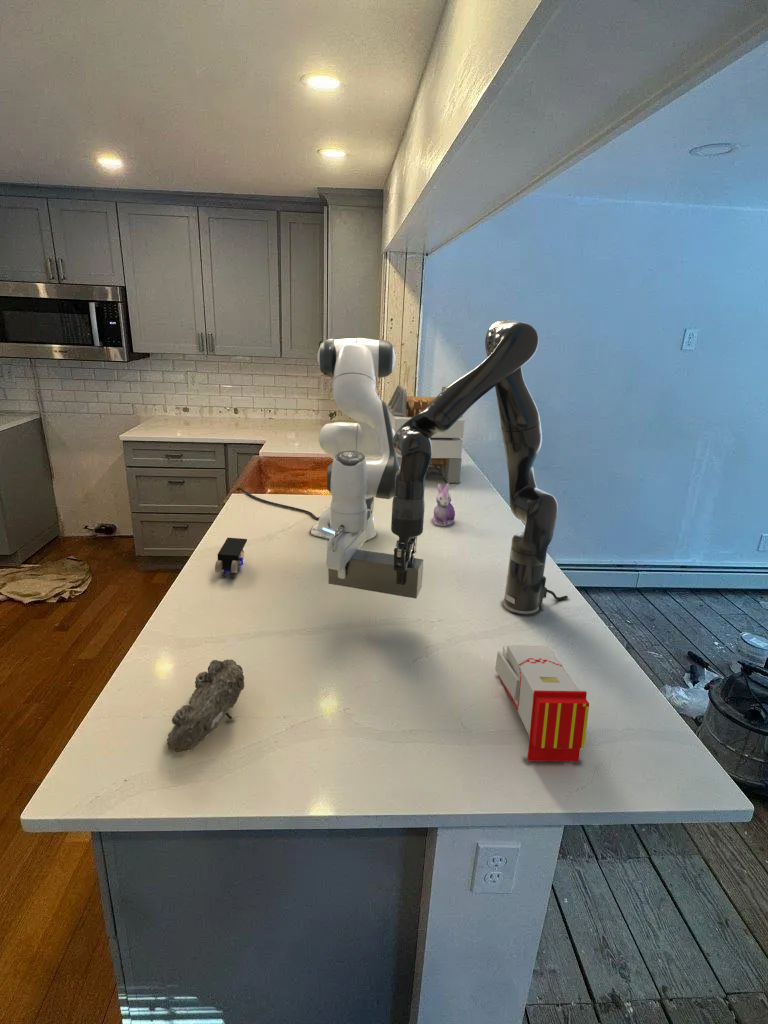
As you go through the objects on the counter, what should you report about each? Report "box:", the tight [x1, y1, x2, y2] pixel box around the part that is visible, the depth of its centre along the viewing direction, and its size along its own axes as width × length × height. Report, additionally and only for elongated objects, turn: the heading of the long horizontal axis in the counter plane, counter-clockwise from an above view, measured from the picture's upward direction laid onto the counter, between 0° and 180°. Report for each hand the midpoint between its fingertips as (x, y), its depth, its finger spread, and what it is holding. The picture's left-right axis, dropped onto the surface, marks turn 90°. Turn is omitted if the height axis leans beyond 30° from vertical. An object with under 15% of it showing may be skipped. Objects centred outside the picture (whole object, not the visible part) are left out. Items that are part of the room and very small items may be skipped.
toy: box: [494, 644, 590, 762], centre depth 112 cm, size 12×13×30 cm
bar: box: [327, 549, 424, 599], centre depth 139 cm, size 22×6×8 cm, turn 74°
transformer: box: [386, 384, 465, 484], centre depth 268 cm, size 34×33×41 cm
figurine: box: [432, 482, 456, 527], centre depth 210 cm, size 9×10×15 cm
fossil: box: [166, 658, 245, 754], centre depth 106 cm, size 22×10×15 cm
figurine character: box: [214, 537, 248, 578], centre depth 166 cm, size 7×8×15 cm
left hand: (347, 571), depth 141 cm, fingers closed on bar, 6 cm apart
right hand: (404, 578), depth 138 cm, fingers closed on bar, 6 cm apart
